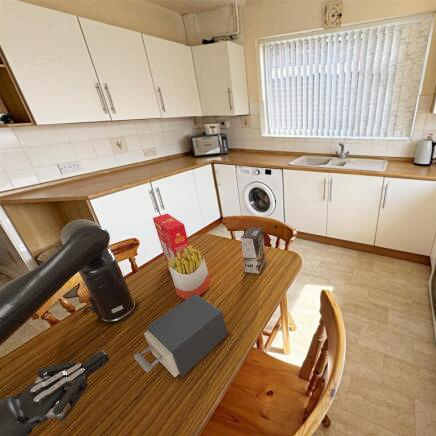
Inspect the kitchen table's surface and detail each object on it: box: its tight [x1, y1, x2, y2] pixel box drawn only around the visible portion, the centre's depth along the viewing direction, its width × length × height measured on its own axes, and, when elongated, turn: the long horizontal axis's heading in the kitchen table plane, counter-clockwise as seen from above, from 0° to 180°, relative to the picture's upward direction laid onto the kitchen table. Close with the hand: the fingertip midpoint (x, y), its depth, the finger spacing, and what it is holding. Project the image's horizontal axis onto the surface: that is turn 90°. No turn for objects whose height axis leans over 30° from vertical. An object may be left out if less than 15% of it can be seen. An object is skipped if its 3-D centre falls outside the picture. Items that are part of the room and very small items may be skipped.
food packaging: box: [152, 213, 190, 274], centre depth 90 cm, size 15×5×25 cm, turn 47°
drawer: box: [133, 329, 179, 378], centre depth 63 cm, size 18×11×8 cm, turn 144°
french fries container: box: [168, 244, 211, 301], centre depth 83 cm, size 5×11×18 cm, turn 148°
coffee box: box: [240, 227, 267, 275], centre depth 97 cm, size 9×6×16 cm
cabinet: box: [146, 294, 228, 378], centre depth 66 cm, size 15×13×10 cm
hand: (106, 355), depth 50 cm, fingers closed
